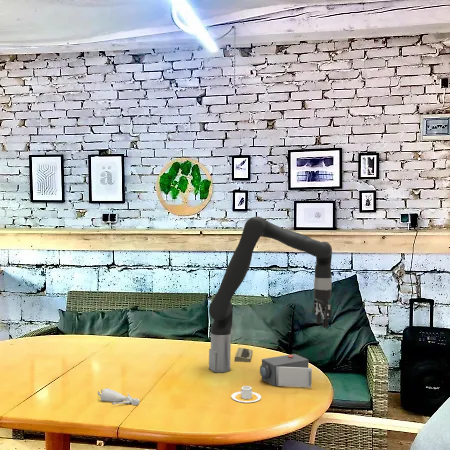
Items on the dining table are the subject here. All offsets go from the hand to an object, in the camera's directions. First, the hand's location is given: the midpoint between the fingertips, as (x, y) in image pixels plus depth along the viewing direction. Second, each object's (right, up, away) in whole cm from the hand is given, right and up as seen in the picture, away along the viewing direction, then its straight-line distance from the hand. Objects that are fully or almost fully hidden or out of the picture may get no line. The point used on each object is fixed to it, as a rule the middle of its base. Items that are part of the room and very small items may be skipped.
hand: (322, 325), depth 221 cm
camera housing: (-17, -24, +2) cm, 30 cm away
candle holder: (-34, -26, -19) cm, 47 cm away
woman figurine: (-84, -25, -24) cm, 91 cm away
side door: (-13, -24, -7) cm, 29 cm away
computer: (-33, -24, +35) cm, 54 cm away
